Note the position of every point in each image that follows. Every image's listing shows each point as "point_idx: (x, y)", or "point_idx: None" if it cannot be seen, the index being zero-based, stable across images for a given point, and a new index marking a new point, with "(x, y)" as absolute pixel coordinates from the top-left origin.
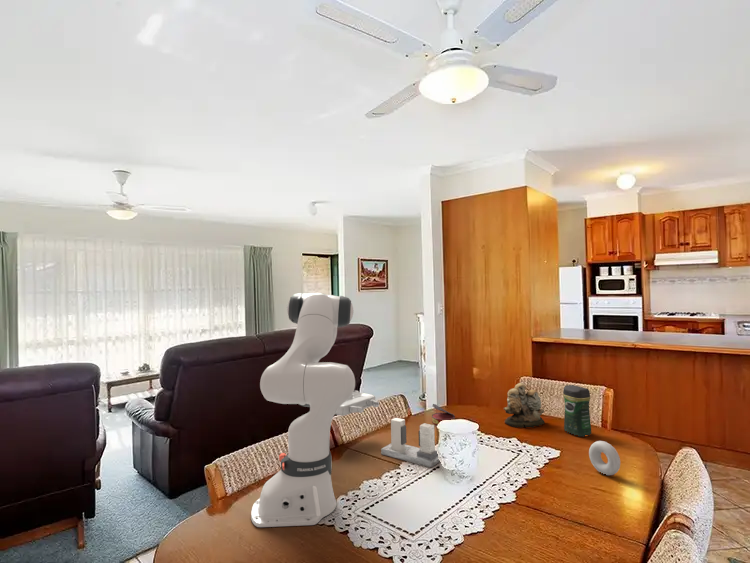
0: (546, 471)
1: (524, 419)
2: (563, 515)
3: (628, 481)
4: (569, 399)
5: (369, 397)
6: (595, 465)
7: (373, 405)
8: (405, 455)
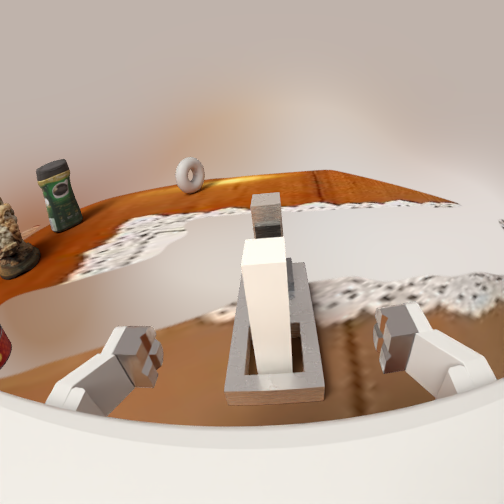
0: (212, 208)
1: (30, 248)
2: (312, 186)
3: (203, 185)
4: (59, 178)
5: (28, 409)
6: (192, 186)
7: (150, 376)
8: (312, 310)
